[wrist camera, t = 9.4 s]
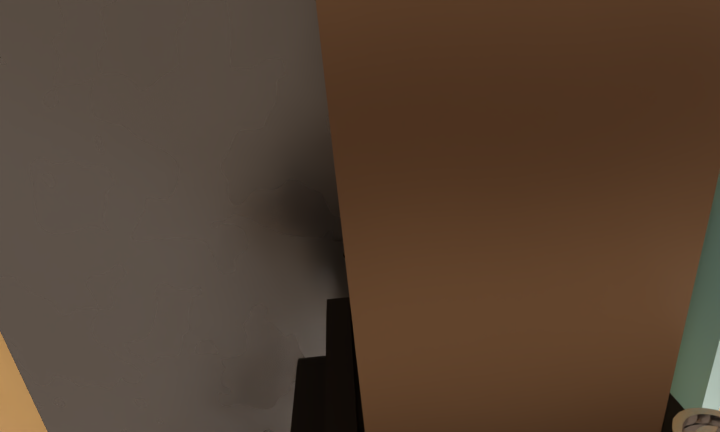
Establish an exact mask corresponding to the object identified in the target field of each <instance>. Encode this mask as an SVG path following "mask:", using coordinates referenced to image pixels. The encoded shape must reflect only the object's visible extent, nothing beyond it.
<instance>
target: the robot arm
mask: <svg viewBox="0 0 720 432" xmlns="http://www.w3.org/2000/svg"><path fill="white" fill-rule="evenodd" d="M290 432H365V428H364V420H363V411H362V402H361V393H360V385H359V376H358V367H357V358H356V350H355V341H354V332H353V323H352V315H351V306H350V298H349V297H343V298H334V299H327V308H326V356H316V357H307V358H299V359H298V362H297V369H296V379H295V390H294V400H293V410H292V420H291V430H290ZM661 432H720V411H718V410H715V409H708V408H688V409H684V408H683V407H682V406H681V405H680V403H679V402H678V401H677V400H676V399H675V398H674V397H673V396H672V394H671V393H669V398H668V402H667V407H666V411H665V416H664V420H663V424H662V429H661Z"/></svg>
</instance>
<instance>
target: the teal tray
mask: <svg viewBox="0 0 720 432" xmlns="http://www.w3.org/2000/svg"><path fill="white" fill-rule="evenodd" d="M670 393H671V394H672V396H673V397H674V398H675V399H676V400H677V401H678V402H679V403H680V405H681V406H682V407H683V408H684V409H688V408H708V409H715V410H718V411H719V408H720V172H719V176H718V180H717V185H716V189H715V194H714V198H713V203H712V207H711V212H710V216H709V220H708V225H707V229H706V234H705V238H704V243H703V247H702V251H701V256H700V260H699V265H698V269H697V274H696V278H695V282H694V287H693V291H692V296H691V300H690V305H689V309H688V314H687V318H686V322H685V327H684V331H683V336H682V340H681V345H680V349H679V353H678V358H677V362H676V367H675V371H674V376H673V380H672V384H671V389H670Z"/></svg>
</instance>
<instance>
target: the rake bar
mask: <svg viewBox="0 0 720 432" xmlns="http://www.w3.org/2000/svg"><path fill="white" fill-rule="evenodd" d="M316 8H317V17H318V26H319V34H320V43H321V52H322V61H323V69H324V78H325V87H326V96H327V104H328V113H329V122H330V131H331V139H332V148H333V157H334V166H335V174H336V183H337V192H338V201H339V210H340V218H341V227H342V236H343V245H344V253H345V262H346V271H347V280H348V288H349V297H350V306H351V315H352V323H353V332H354V341H355V350H356V358H357V367H358V376H359V385H360V393H361V402H362V411H363V420H364V428H365V432H661V429H662V424H663V420H664V416H665V411H666V407H667V402H668V398H669V393H670V389H671V384H672V380H673V376H674V371H675V367H676V362H677V358H678V353H679V349H680V345H681V340H682V336H683V331H684V327H685V322H686V318H687V314H688V309H689V305H690V300H691V296H692V291H693V287H694V282H695V278H696V274H697V269H698V265H699V260H700V256H701V251H702V247H703V243H704V238H705V234H706V229H707V225H708V220H709V216H710V212H711V207H712V203H713V198H714V194H715V189H716V185H717V180H718V176H719V172H720V0H316Z"/></svg>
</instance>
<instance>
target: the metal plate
mask: <svg viewBox="0 0 720 432" xmlns="http://www.w3.org/2000/svg"><path fill="white" fill-rule="evenodd" d="M343 297H349V288H348V280H347V271H346V262H345V253H344V245H343V236H342V227H341V218H340V210H339V201H338V192H337V183H336V174H335V166H334V157H333V148H332V139H331V131H330V122H329V113H328V104H327V96H326V87H325V78H324V69H323V61H322V52H321V43H320V34H319V26H318V17H317V8H316V0H0V332H1V334H2V336H3V338H4V340H5V342H6V344H7V346H8V349H9V351H10V353H11V355H12V357H13V359H14V361H15V363H16V366H17V368H18V370H19V372H20V374H21V376H22V378H23V380H24V382H25V385H26V387H27V389H28V391H29V393H30V395H31V397H32V399H33V402H34V404H35V406H36V408H37V410H38V412H39V414H40V416H41V418H42V421H43V423H44V425H45V427H46V429H47V431H48V432H290V430H291V420H292V410H293V400H294V390H295V379H296V369H297V362H298V359H299V358H307V357H316V356H326V308H327V299H334V298H343ZM349 298H350V297H349Z"/></svg>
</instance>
